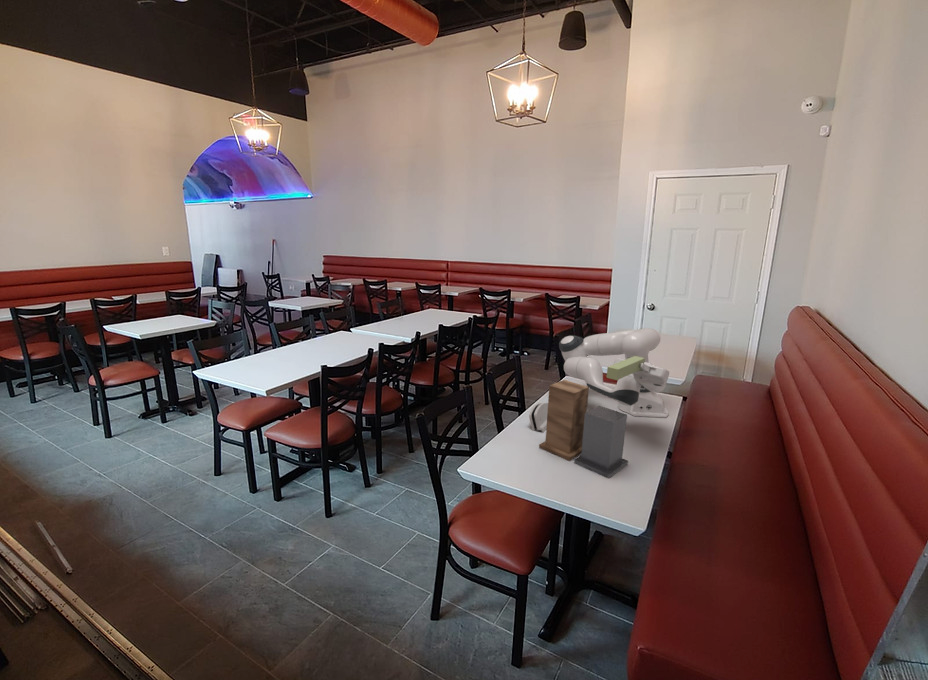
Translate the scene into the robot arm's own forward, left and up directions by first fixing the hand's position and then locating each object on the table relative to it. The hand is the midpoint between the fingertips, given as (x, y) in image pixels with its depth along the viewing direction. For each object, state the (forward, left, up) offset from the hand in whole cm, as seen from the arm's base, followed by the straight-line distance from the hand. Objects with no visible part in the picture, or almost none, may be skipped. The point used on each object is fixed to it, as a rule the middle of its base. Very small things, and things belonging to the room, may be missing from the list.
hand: (633, 363), depth 168 cm
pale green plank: (+3, +5, -2) cm, 6 cm away
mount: (+9, +16, -35) cm, 40 cm away
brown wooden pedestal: (+23, +8, -35) cm, 43 cm away
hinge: (+34, -12, -36) cm, 51 cm away
